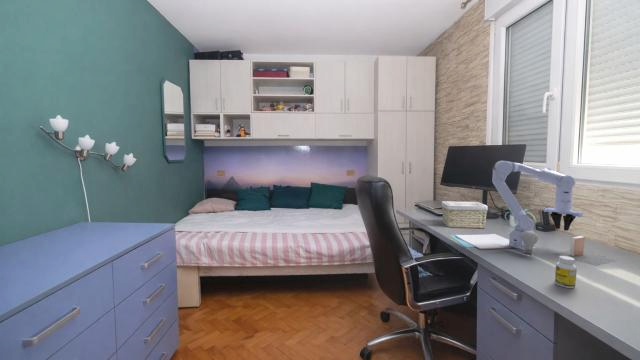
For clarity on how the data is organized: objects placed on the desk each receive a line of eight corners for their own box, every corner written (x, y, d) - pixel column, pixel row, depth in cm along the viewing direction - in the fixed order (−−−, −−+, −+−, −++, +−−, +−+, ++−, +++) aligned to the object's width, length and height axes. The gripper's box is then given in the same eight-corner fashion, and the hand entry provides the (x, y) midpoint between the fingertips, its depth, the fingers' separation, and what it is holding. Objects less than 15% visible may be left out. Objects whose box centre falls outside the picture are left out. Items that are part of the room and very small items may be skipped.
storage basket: (446, 227, 176) (447, 204, 175) (439, 221, 192) (440, 200, 191) (487, 229, 172) (489, 205, 171) (477, 223, 188) (478, 201, 187)
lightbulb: (533, 253, 130) (535, 229, 129) (539, 257, 124) (540, 233, 123) (518, 251, 132) (519, 228, 131) (522, 255, 126) (524, 231, 125)
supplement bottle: (550, 281, 100) (552, 255, 99) (564, 281, 101) (566, 254, 100) (565, 289, 95) (567, 260, 94) (579, 288, 95) (582, 260, 94)
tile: (573, 256, 124) (575, 238, 123) (569, 255, 126) (570, 237, 125) (583, 254, 126) (584, 236, 126) (579, 253, 128) (580, 236, 127)
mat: (595, 267, 113) (595, 265, 113) (553, 254, 127) (553, 253, 127) (617, 261, 119) (618, 260, 119) (575, 250, 133) (575, 249, 133)
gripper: (588, 202, 125) (586, 232, 126) (551, 198, 139) (550, 225, 140) (578, 203, 123) (576, 233, 124) (542, 199, 136) (540, 226, 137)
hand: (561, 229), depth 132 cm, fingers open, 3 cm apart
